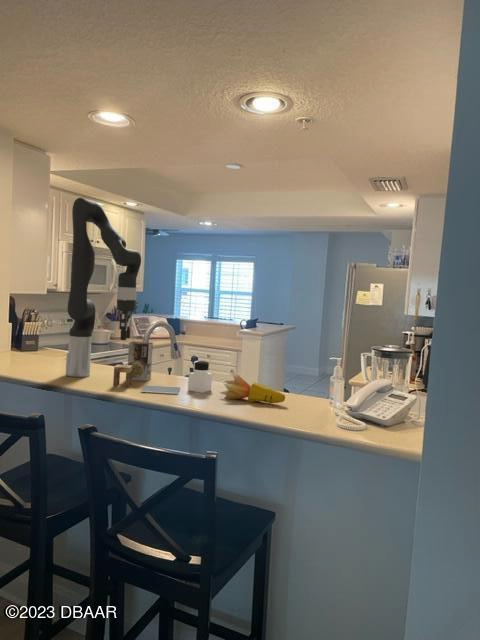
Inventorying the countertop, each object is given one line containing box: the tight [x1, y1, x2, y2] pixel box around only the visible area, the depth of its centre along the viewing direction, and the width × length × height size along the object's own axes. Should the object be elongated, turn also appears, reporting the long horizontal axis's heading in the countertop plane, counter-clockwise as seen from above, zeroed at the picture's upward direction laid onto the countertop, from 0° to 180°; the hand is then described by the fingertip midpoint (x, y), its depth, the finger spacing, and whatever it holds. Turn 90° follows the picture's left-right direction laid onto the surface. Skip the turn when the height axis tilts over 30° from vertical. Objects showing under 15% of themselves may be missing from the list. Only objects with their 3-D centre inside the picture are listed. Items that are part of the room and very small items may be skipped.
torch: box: [219, 372, 286, 404], centre depth 172 cm, size 8×8×25 cm
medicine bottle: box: [187, 360, 213, 394], centre depth 183 cm, size 7×7×12 cm
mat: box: [140, 384, 181, 396], centre depth 179 cm, size 14×12×1 cm
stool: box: [112, 364, 133, 389], centre depth 182 cm, size 6×6×8 cm
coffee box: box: [127, 341, 154, 382], centre depth 198 cm, size 9×6×16 cm
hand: (125, 339), depth 183 cm, fingers open, 8 cm apart
